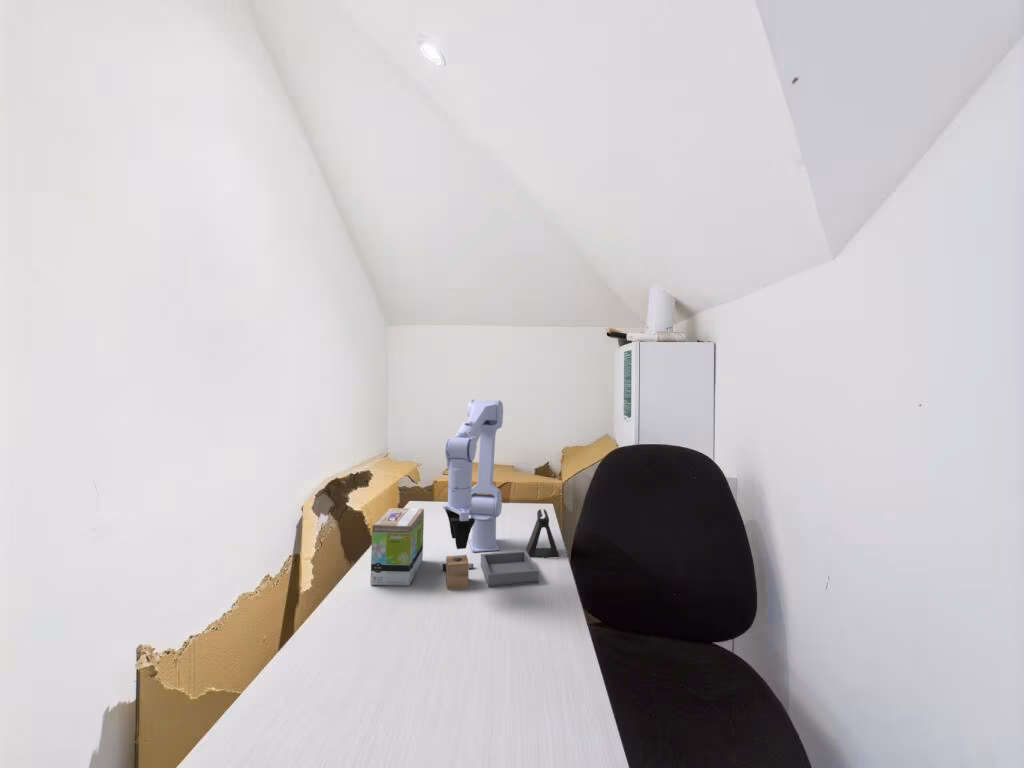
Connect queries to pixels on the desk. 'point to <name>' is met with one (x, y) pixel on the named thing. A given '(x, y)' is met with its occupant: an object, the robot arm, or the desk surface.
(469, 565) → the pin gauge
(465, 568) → the block
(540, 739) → the desk surface
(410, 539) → the tea box
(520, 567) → the tray
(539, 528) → the phone stand
